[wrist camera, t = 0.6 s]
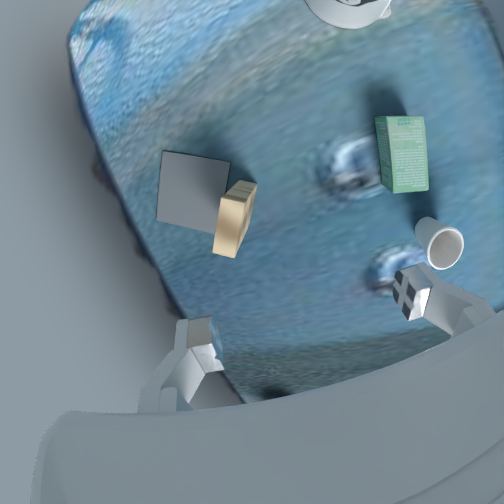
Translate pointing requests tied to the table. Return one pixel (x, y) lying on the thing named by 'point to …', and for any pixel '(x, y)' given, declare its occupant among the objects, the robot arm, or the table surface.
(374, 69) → the table surface
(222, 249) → the oak slab
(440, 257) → the dixie cup
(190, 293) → the table surface
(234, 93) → the table surface
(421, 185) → the box
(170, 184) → the mat
